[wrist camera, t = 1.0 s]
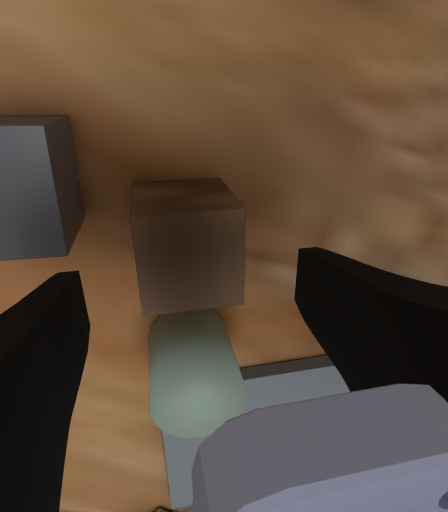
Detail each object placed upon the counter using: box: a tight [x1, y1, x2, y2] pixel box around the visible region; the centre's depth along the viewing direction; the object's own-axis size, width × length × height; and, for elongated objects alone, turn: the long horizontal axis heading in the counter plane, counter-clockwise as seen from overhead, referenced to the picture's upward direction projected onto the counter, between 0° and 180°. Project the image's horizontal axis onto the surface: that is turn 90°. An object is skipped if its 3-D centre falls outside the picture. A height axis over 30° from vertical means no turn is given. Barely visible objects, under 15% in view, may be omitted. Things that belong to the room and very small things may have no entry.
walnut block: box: [130, 178, 245, 317], centre depth 16 cm, size 4×4×5 cm
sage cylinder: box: [148, 308, 247, 438], centre depth 19 cm, size 4×4×5 cm
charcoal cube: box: [0, 115, 85, 261], centre depth 14 cm, size 4×4×4 cm
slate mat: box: [162, 355, 350, 509], centre depth 25 cm, size 18×11×1 cm, turn 90°
